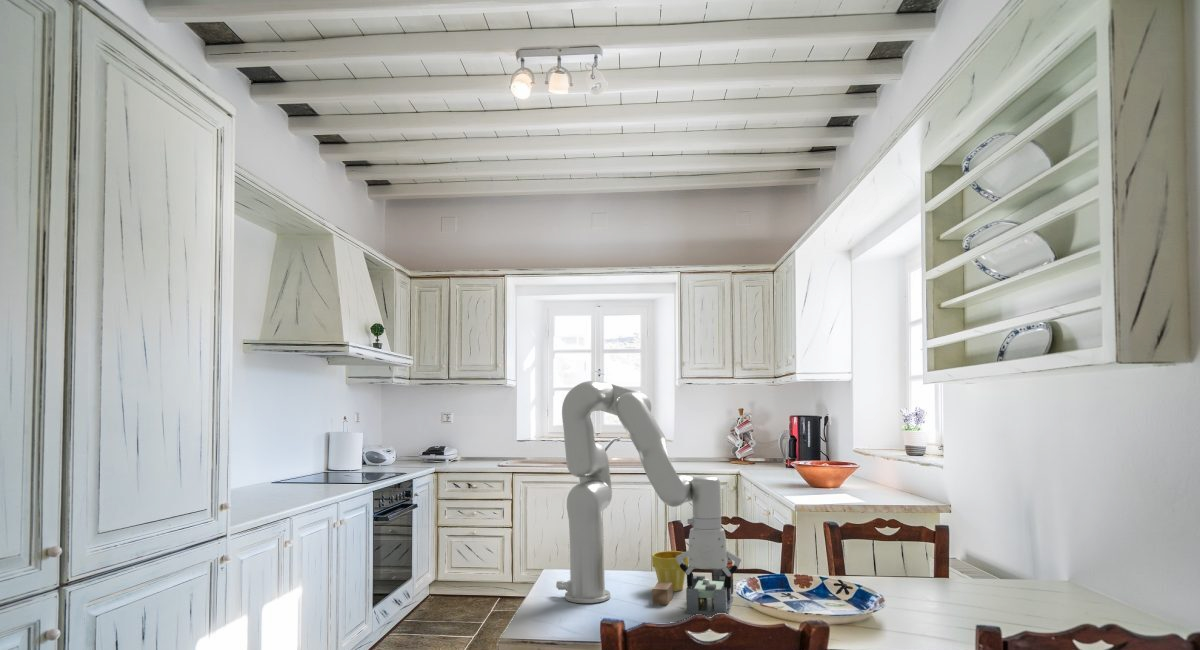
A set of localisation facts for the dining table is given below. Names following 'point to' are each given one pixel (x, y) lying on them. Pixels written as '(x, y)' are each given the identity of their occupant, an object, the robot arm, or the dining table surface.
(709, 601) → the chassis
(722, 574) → the supplement bottle
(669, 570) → the plant pot
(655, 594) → the wooden block
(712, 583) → the board
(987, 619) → the dining table surface
